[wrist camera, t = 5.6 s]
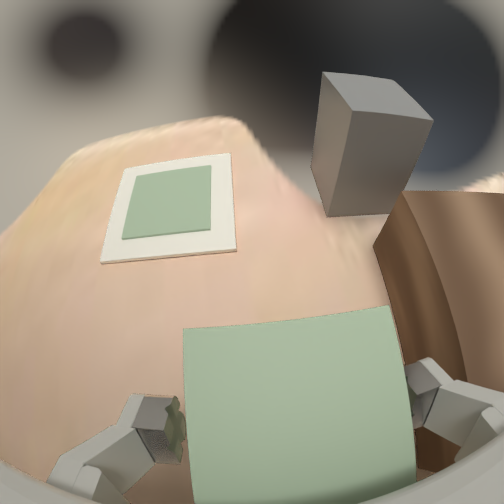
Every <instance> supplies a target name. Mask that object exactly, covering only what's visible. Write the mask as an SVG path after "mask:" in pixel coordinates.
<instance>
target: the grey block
mask: <svg viewBox="0 0 504 504" xmlns="http://www.w3.org/2000/svg"><path fill="white" fill-rule="evenodd" d="M433 121H434V120H433V119H432V118H431V117H430V116H429V115H428V114H427V113H426V112H425V111H424V110H423V109H422V108H421V107H420V105H419V104H418V103H417V102H416V101H415V100H414V99H412V97H411V96H410V95H409V94H408V93H406V92H405V91H404V90H403V89H402V88H401V87H400V86H399V85H398V84H397V83H396V82H395V81H394V80H389V79H383V78H376V77H369V76H362V75H352V74H343V73H330V72H323V73H322V82H321V92H320V100H319V108H318V117H317V124H316V132H315V140H314V147H313V155H312V161H311V170H312V172H313V176H314V179H315V182H316V185H317V188H318V191H319V193H320V197H321V200H322V203H323V206H324V209H325V213H326V216H327V217H340V216H357V215H376V214H390V213H391V211H392V209H393V207H394V205H395V203H396V201H397V198H398V196H399V194H400V192H401V191H403V190H404V188H405V186H406V184H407V182H408V180H409V178H410V176H411V173H412V171H413V169H414V167H415V164H416V162H417V160H418V158H419V155H420V153H421V151H422V148H423V146H424V144H425V141H426V139H427V136H428V134H429V131H430V129H431V126H432V124H433Z"/></svg>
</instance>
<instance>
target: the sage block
mask: <svg viewBox="0 0 504 504" xmlns="http://www.w3.org/2000/svg"><path fill="white" fill-rule="evenodd" d="M183 366H184V393H185V412H186V427H187V440H188V452H189V462H190V472H191V480H192V488H193V496H194V503H195V504H358V503H361V502H365V501H368V500H371V499H374V498H377V497H380V496H383V495H386V494H389V493H391V492H394V491H397V490H399V489H402V488H404V487H407V486H409V485H411V484H414V483H416V482H417V480H416V458H415V445H414V434H413V425H412V417H411V409H410V402H409V395H408V389H407V383H406V378H405V372H404V367H403V362H402V357H401V352H400V348H399V343H398V339H397V335H396V330H395V326H394V322H393V318H392V314H391V311H390V307H389V305H386V306H380V307H375V308H369V309H364V310H358V311H351V312H345V313H339V314H332V315H325V316H318V317H310V318H303V319H295V320H286V321H277V322H268V323H258V324H247V325H235V326H222V327H207V328H189V329H183Z"/></svg>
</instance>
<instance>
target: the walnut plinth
mask: <svg viewBox="0 0 504 504" xmlns="http://www.w3.org/2000/svg"><path fill="white" fill-rule="evenodd" d="M373 247H374V250H375V253H376V256H377V259H378V262H379V265H380V268H381V271H382V275H383V278H384V281H385V284H386V288H387V291H388V295H389V298H390V302H391V305H392V309H393V313H394V317H395V320H396V324H397V328H398V333H399V337H400V341H401V345H402V350H403V355H404V360H405V364H406V365H407V364H410V363H413V362H417V361H419V360H422V359H424V358H427V357H429V358H432V359H433V360H434V361H435V362H436V363H437V364H438V365H439V366H440V367H441V368H442V369H443V370H444V371H445V372H446V373H447V374H448V375H449V376H450V377H451V378H452V379H453V380H454V381H455V380H460V381H463V382H467V383H470V384H474V385H477V386H481V387H484V388H488V389H491V390H495V391H499V392H503V393H504V194H501V193H484V192H459V191H401V192H400V194H399V196H398V198H397V201H396V203H395V205H394V207H393V209H392V211H391V213H390V215H389V216H388V218H387V220H386V222H385V224H384V226H383V228H382V230H381V232H380V234H379V235H378V237H377V239H376V241H375V243H374V245H373ZM423 426H424V425H423ZM423 426H421V427H418V428H415V430H416V440H417V452H418V468H420V469H424V470H428V471H432V472H439V471H441V470H443V469H445V468H447V467H449V466H450V465H452V464H454V463H456V462H455V461H454V458H455V456H456V454H457V453H458V451H459V450H460V448H461V446H459V445H457V444H455V443H453V442H451V441H449V440H447V439H445V438H443V437H442V436H440V435H438V434H436V433H434V432H432V431H431V430H429V429H427V428H425V427H423Z"/></svg>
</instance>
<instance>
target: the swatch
mask: <svg viewBox="0 0 504 504" xmlns="http://www.w3.org/2000/svg"><path fill="white" fill-rule="evenodd" d="M234 251H237V250H236V235H235V219H234V203H233V186H232V168H231V153H225V154H216V155H207V156H199V157H191V158H184V159H177V160H171V161H165V162H158V163H153V164H147V165H142V166H136V167H131V168H126V169H125V170H124V173H123V176H122V179H121V182H120V185H119V188H118V192H117V195H116V198H115V202H114V205H113V209H112V212H111V216H110V220H109V223H108V227H107V231H106V235H105V240H104V244H103V248H102V253H101V258H100V263H101V264H106V263H116V262H127V261H137V260H148V259H159V258H169V257H180V256H191V255H202V254H212V253H223V252H234Z"/></svg>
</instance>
